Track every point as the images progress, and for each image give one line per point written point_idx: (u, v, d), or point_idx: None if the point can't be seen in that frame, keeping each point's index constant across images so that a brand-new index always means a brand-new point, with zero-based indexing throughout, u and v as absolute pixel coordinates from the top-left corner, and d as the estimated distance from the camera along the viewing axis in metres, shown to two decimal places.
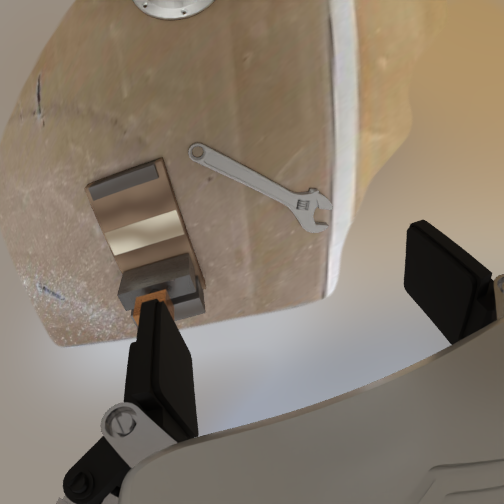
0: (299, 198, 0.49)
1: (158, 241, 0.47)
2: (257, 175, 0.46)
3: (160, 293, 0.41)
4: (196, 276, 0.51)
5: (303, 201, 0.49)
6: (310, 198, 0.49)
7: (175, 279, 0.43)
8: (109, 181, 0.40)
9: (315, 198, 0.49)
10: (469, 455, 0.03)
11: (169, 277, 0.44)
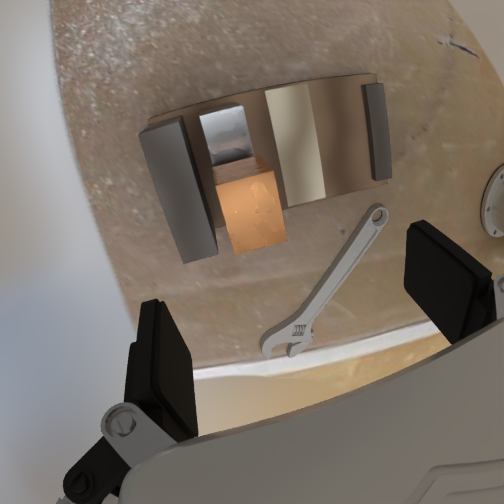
0: (307, 325, 0.42)
1: (281, 167, 0.30)
2: (341, 281, 0.39)
3: None
4: (213, 224, 0.31)
5: (303, 330, 0.42)
6: (305, 335, 0.42)
7: None
8: (385, 116, 0.28)
9: (304, 340, 0.43)
10: (470, 455, 0.03)
11: None
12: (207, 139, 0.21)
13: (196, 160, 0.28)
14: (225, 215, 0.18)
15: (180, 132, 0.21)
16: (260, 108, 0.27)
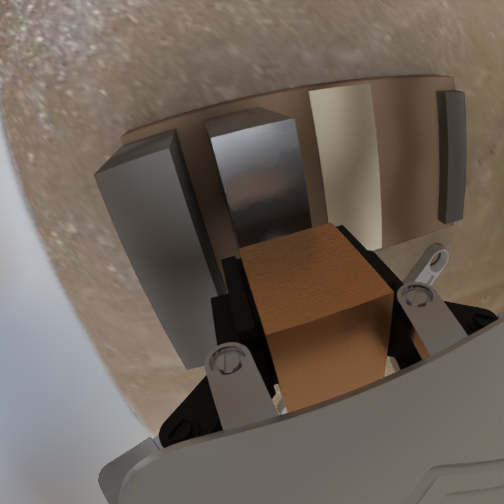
0: None
1: (327, 208, 0.20)
2: None
3: None
4: (226, 292, 0.21)
5: None
6: None
7: None
8: (464, 137, 0.18)
9: None
10: (470, 455, 0.03)
11: None
12: (225, 183, 0.11)
13: (199, 200, 0.18)
14: (281, 379, 0.08)
15: (172, 169, 0.11)
16: (301, 118, 0.17)
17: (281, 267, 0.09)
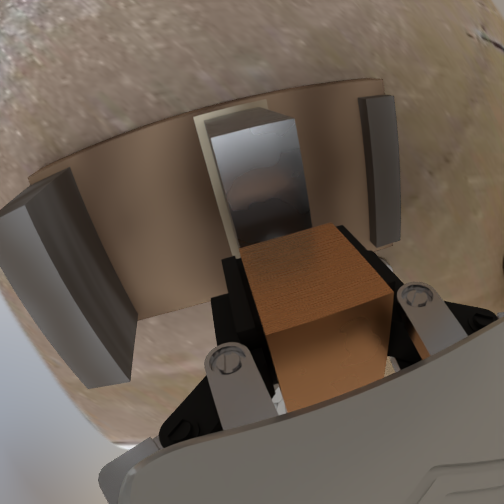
0: (280, 403, 0.31)
1: (228, 236, 0.20)
2: None
3: None
4: (136, 317, 0.21)
5: None
6: (278, 412, 0.32)
7: None
8: (396, 149, 0.18)
9: None
10: (470, 455, 0.03)
11: None
12: (225, 183, 0.11)
13: (99, 233, 0.18)
14: (281, 379, 0.08)
15: (30, 222, 0.11)
16: (187, 146, 0.17)
17: (281, 267, 0.09)
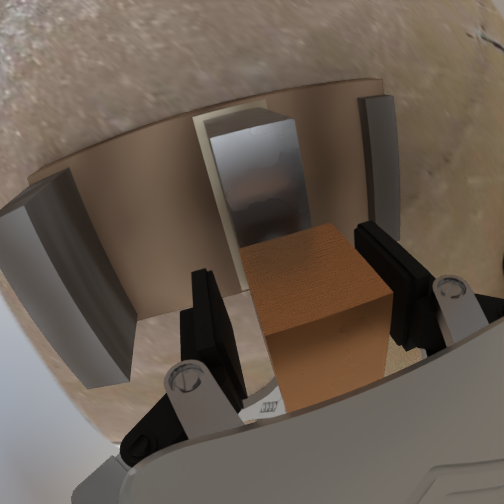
0: (279, 402, 0.31)
1: (228, 236, 0.20)
2: None
3: None
4: (136, 317, 0.21)
5: (274, 406, 0.31)
6: (277, 411, 0.32)
7: None
8: (396, 149, 0.18)
9: (277, 415, 0.32)
10: (470, 455, 0.03)
11: None
12: (225, 184, 0.11)
13: (98, 233, 0.18)
14: (281, 379, 0.08)
15: (30, 223, 0.11)
16: (186, 147, 0.17)
17: (280, 267, 0.09)
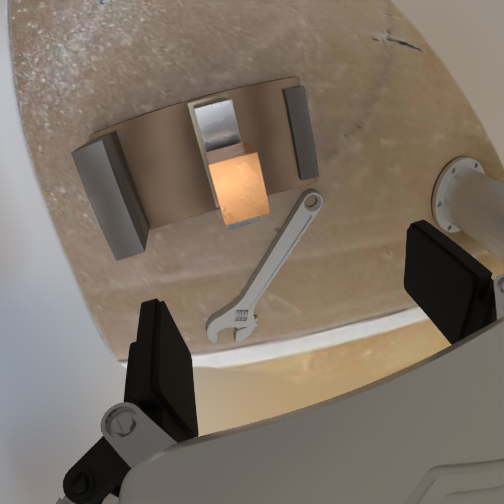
0: (249, 311, 0.44)
1: (207, 171, 0.32)
2: (279, 266, 0.41)
3: None
4: (149, 225, 0.34)
5: (245, 315, 0.44)
6: (249, 321, 0.44)
7: None
8: (308, 117, 0.30)
9: (249, 325, 0.45)
10: (470, 455, 0.03)
11: None
12: (201, 129, 0.24)
13: (130, 169, 0.31)
14: (216, 190, 0.21)
15: (103, 149, 0.24)
16: (184, 119, 0.29)
17: (219, 153, 0.22)
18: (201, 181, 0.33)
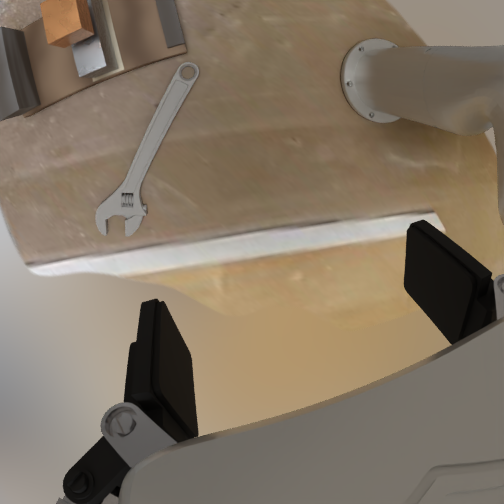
0: (134, 194, 0.39)
1: None
2: (159, 141, 0.37)
3: (90, 26, 0.20)
4: (39, 103, 0.29)
5: (131, 199, 0.40)
6: (136, 207, 0.40)
7: (101, 47, 0.24)
8: None
9: (136, 213, 0.41)
10: (470, 455, 0.03)
11: (101, 41, 0.24)
12: None
13: (30, 59, 0.26)
14: (44, 19, 0.17)
15: (1, 32, 0.19)
16: None
17: None
18: None
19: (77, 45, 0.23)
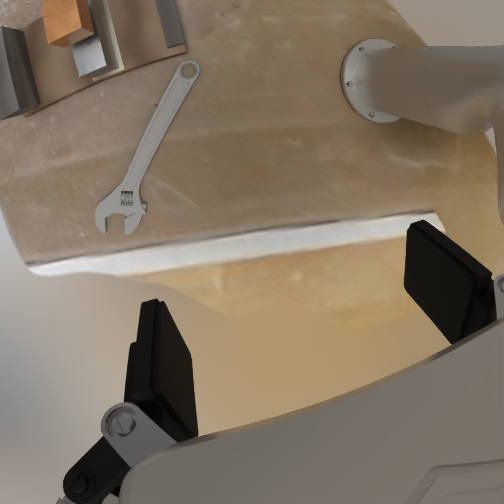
0: (134, 192, 0.39)
1: None
2: (159, 139, 0.37)
3: (91, 26, 0.20)
4: (39, 103, 0.29)
5: (131, 198, 0.39)
6: (135, 205, 0.40)
7: (101, 47, 0.24)
8: None
9: (136, 211, 0.40)
10: (470, 455, 0.03)
11: (101, 41, 0.24)
12: None
13: (30, 59, 0.26)
14: (44, 18, 0.17)
15: (1, 32, 0.19)
16: None
17: None
18: None
19: (77, 45, 0.23)
